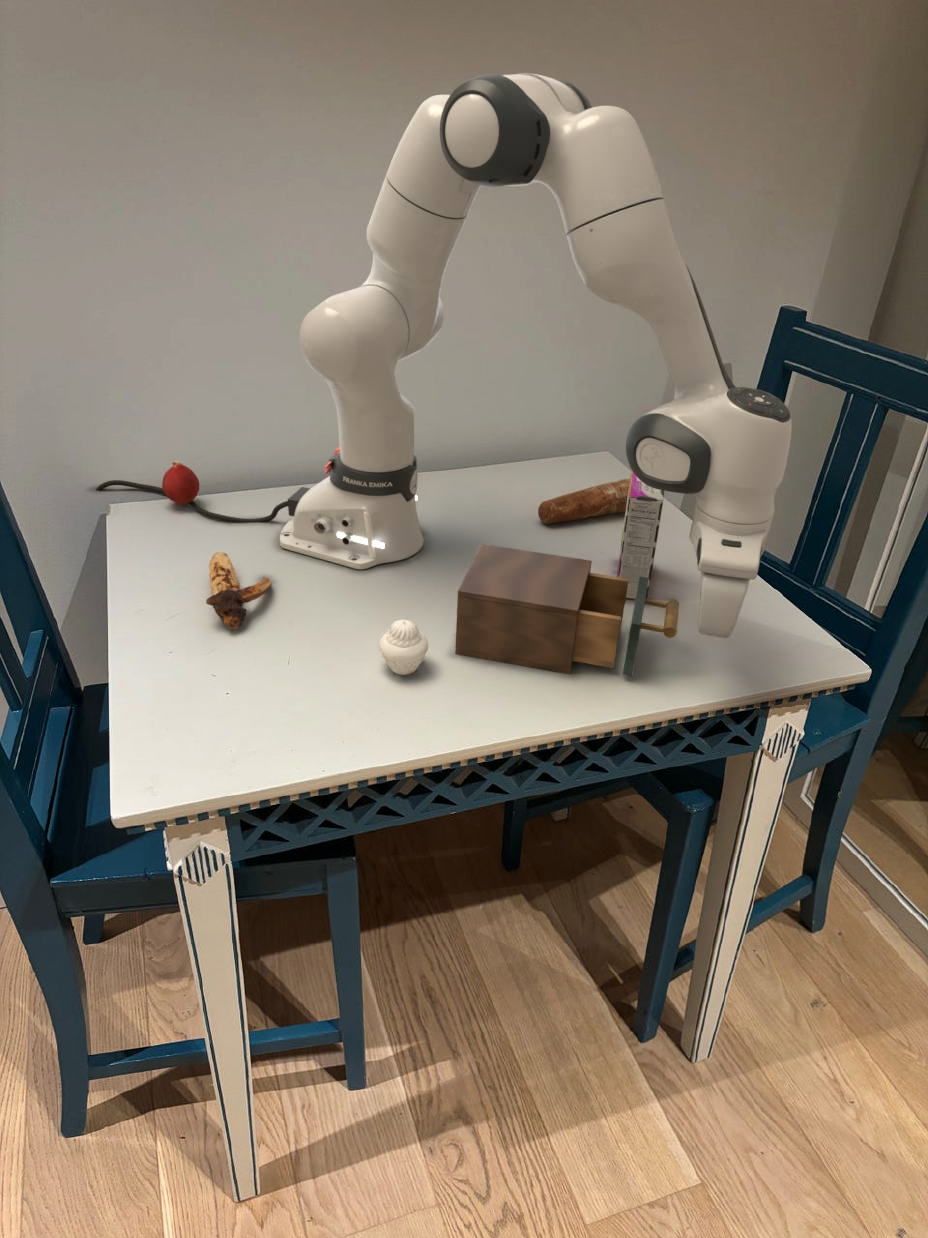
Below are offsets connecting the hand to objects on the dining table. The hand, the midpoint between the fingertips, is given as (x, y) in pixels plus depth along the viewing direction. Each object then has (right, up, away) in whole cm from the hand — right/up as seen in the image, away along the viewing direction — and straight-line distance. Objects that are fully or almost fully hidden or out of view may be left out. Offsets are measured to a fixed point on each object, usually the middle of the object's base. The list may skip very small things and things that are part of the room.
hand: (707, 627), depth 112 cm
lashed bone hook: (-62, +4, +13) cm, 64 cm away
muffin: (-38, -5, +1) cm, 39 cm away
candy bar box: (-6, +6, +21) cm, 23 cm away
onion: (-78, +20, +37) cm, 88 cm away
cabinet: (-23, -1, +8) cm, 24 cm away
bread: (-9, +18, +39) cm, 44 cm away
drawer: (-13, -2, +5) cm, 14 cm away
